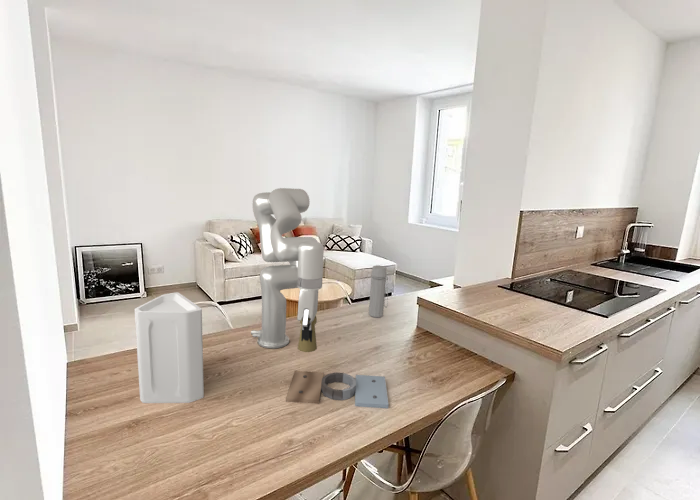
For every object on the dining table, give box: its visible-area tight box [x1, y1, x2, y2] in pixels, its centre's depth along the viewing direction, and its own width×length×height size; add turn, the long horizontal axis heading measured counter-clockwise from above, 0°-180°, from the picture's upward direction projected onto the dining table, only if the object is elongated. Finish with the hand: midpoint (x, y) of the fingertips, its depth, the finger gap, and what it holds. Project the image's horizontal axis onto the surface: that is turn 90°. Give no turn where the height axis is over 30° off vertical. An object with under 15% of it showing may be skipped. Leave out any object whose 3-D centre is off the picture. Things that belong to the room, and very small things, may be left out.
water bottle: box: [368, 264, 389, 318], centre depth 184 cm, size 9×8×25 cm
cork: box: [297, 316, 318, 353], centre depth 116 cm, size 6×6×11 cm
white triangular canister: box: [134, 291, 205, 404], centre depth 112 cm, size 19×15×28 cm
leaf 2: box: [341, 372, 389, 409], centre depth 120 cm, size 14×16×3 cm
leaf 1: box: [285, 370, 345, 405], centre depth 120 cm, size 17×16×3 cm
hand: (307, 337), depth 117 cm, fingers closed on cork, 3 cm apart
